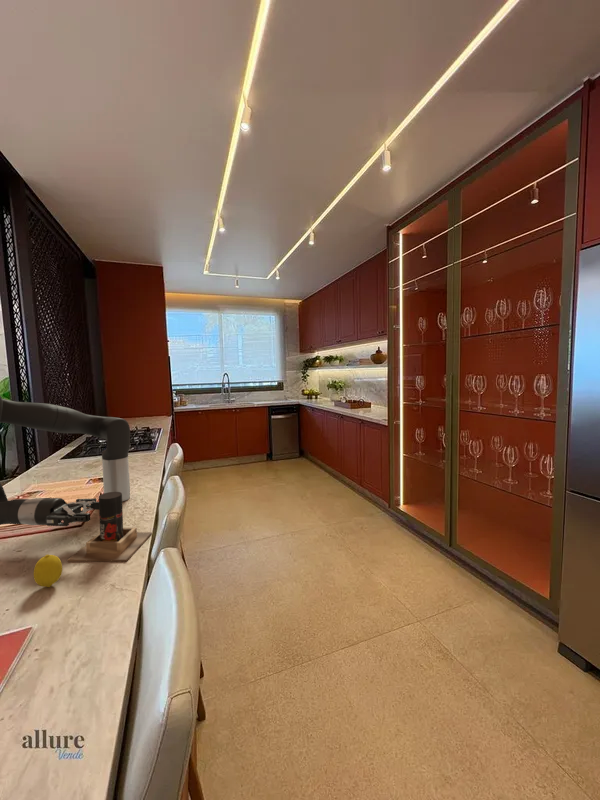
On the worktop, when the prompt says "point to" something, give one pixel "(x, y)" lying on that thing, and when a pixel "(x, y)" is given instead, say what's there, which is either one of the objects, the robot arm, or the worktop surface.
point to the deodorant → (111, 516)
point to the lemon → (47, 570)
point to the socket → (111, 548)
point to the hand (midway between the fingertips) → (98, 511)
